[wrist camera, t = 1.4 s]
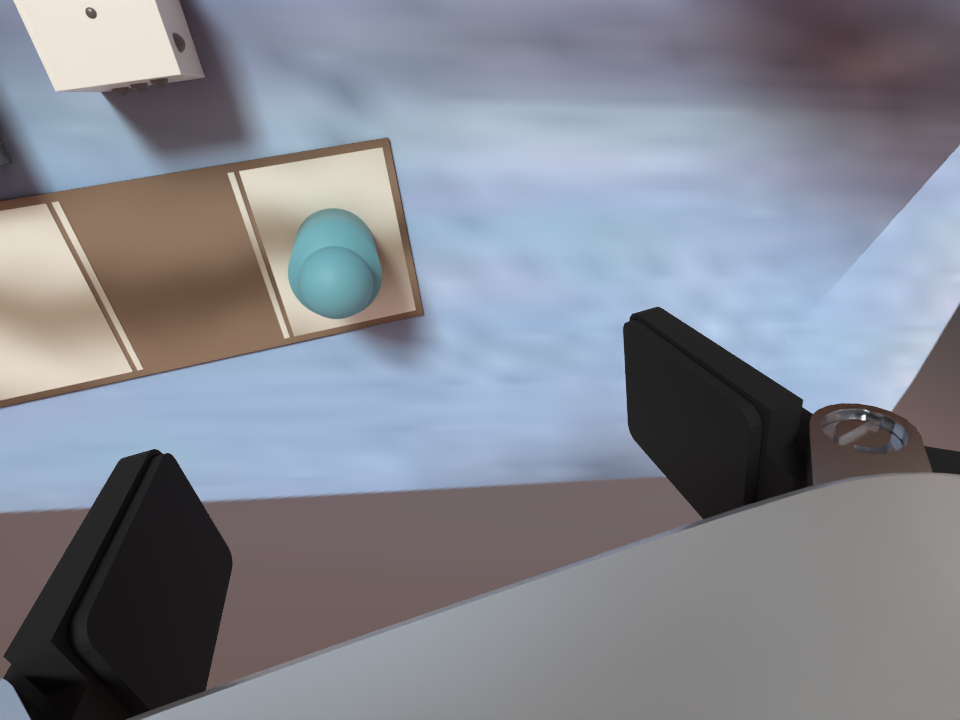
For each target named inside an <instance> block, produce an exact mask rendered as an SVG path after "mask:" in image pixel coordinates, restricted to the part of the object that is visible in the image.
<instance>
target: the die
mask: <svg viewBox="0 0 960 720" xmlns="http://www.w3.org/2000/svg"><path fill="white" fill-rule="evenodd" d="M14 2H15V4H16V7H17V9H18V11H19V13H20V15H21V17H22V20H23V22H24V24H25V26H26V28H27V30H28V33H29V35H30V37H31V39H32V41H33V43H34V46H35V48H36V50H37V52H38V54H39V56H40V59H41V61H42V63H43V65H44V67H45V69H46V71H47V74H48V76H49V78H50V80H51V82H52V84H53V87H54V89H55V91H63V92H106V91H113V92H114V93H115V94H117V95H119V96H124V95H126V94H127V93H128V92H129V88H132V89H133V90H135V91H138V92H143V91H145V90H146V89H147V87H148V86H149V85H154V86H155V87H158V88H162V87H165V86H166V85H167V83H171V82H178V81H186V80H193V79H200V78H205V76H204V73H203V70H202V67H201V64H200V61H199V58H198V55H197V52H196V49H195V46H194V43H193V40H192V37H191V34H190V31H189V28H188V25H187V22H186V19H185V16H184V13H183V10H182V7H181V4H180V1H179V0H14Z"/></svg>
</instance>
